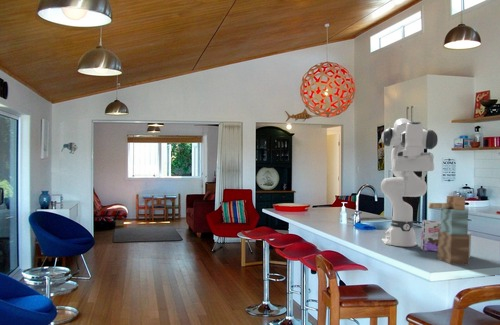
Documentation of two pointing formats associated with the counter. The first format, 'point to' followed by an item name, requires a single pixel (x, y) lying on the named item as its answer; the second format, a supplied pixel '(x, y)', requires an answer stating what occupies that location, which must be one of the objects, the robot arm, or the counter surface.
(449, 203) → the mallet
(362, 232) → the counter surface
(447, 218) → the tower
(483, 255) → the counter surface
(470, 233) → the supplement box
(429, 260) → the counter surface
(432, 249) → the candy box
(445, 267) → the counter surface
